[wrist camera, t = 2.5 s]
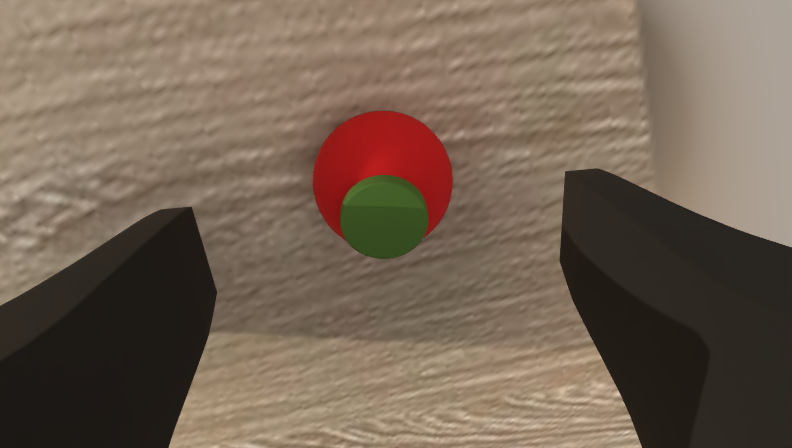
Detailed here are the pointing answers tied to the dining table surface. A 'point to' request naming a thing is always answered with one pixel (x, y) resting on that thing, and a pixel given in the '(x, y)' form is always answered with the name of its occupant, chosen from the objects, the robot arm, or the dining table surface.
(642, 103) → the dining table surface
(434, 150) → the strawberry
